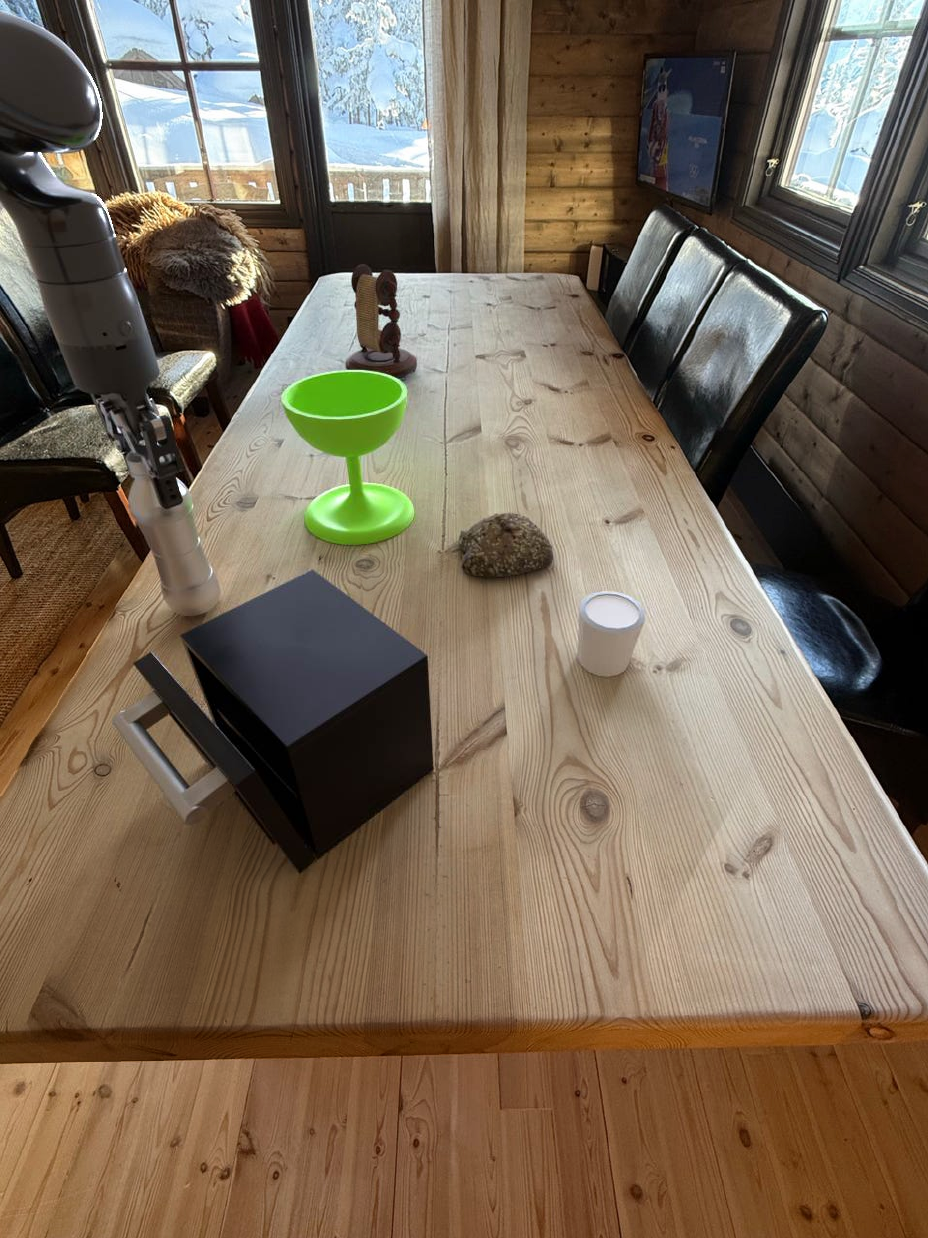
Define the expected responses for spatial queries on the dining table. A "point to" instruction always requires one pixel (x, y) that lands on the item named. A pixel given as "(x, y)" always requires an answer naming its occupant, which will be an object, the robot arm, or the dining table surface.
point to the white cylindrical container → (608, 632)
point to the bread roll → (504, 546)
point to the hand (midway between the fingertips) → (158, 493)
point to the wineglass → (351, 451)
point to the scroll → (374, 342)
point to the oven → (317, 703)
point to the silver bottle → (173, 544)
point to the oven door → (217, 752)
